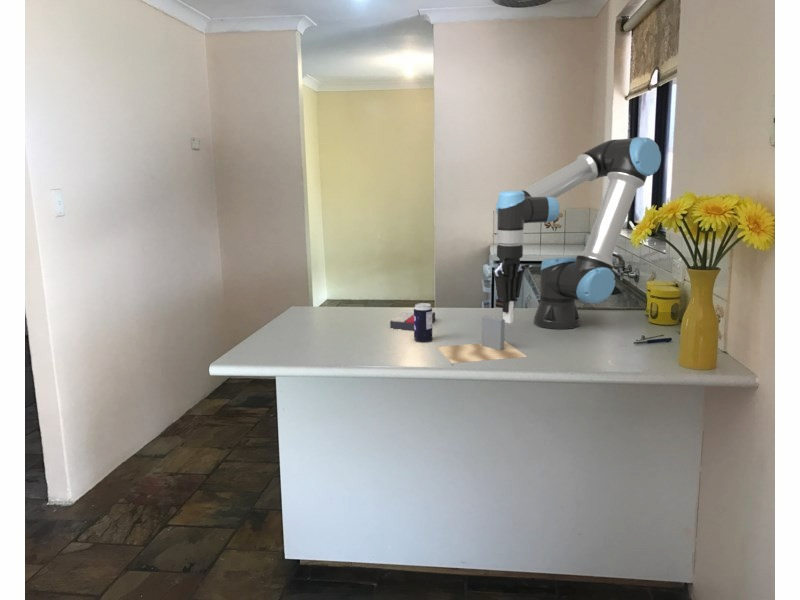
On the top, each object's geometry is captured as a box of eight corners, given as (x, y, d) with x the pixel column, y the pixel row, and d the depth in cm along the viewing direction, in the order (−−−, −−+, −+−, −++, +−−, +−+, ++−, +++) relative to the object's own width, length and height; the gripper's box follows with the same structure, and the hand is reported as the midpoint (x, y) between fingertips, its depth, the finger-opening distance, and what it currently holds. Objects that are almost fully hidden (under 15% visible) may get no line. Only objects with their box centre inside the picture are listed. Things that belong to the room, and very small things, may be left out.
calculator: (389, 319, 199) (407, 308, 212) (390, 331, 200) (407, 319, 213) (419, 322, 195) (435, 310, 208) (419, 334, 196) (435, 321, 209)
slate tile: (485, 344, 177) (486, 315, 175) (504, 349, 172) (504, 319, 170) (481, 345, 176) (482, 316, 174) (500, 350, 171) (500, 320, 169)
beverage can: (426, 338, 187) (426, 302, 184) (435, 343, 182) (435, 305, 179) (410, 341, 184) (410, 304, 182) (419, 345, 179) (419, 307, 177)
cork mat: (505, 343, 180) (505, 341, 180) (527, 358, 165) (527, 356, 165) (436, 348, 176) (436, 346, 175) (451, 365, 160) (451, 363, 160)
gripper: (513, 241, 179) (511, 316, 184) (485, 245, 171) (484, 323, 176) (533, 243, 174) (531, 320, 179) (506, 247, 165) (504, 328, 170)
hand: (507, 322), depth 177 cm, fingers closed
